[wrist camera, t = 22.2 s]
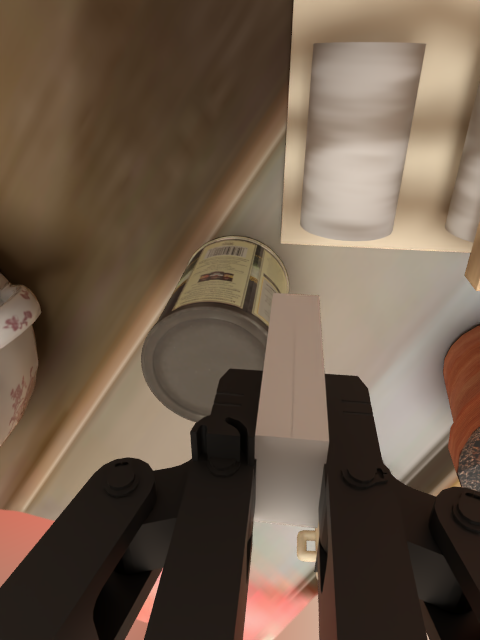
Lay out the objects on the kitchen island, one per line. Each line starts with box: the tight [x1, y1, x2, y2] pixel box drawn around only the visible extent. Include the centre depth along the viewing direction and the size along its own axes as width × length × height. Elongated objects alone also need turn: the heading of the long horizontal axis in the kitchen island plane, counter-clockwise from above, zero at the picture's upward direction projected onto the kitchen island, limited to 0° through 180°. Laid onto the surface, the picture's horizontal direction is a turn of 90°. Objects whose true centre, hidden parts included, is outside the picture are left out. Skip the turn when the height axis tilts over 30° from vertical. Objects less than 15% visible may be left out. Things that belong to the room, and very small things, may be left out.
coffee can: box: [141, 236, 289, 423], centre depth 38 cm, size 10×10×14 cm
